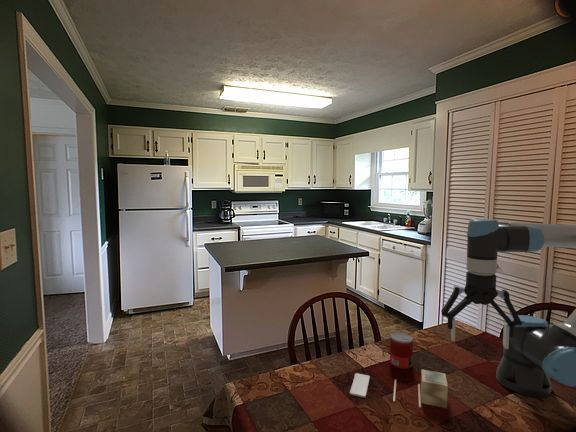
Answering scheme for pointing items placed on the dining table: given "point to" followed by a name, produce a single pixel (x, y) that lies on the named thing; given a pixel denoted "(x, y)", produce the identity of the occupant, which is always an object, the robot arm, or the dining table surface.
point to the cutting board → (362, 383)
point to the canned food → (401, 350)
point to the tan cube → (434, 388)
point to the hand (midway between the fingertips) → (478, 343)
